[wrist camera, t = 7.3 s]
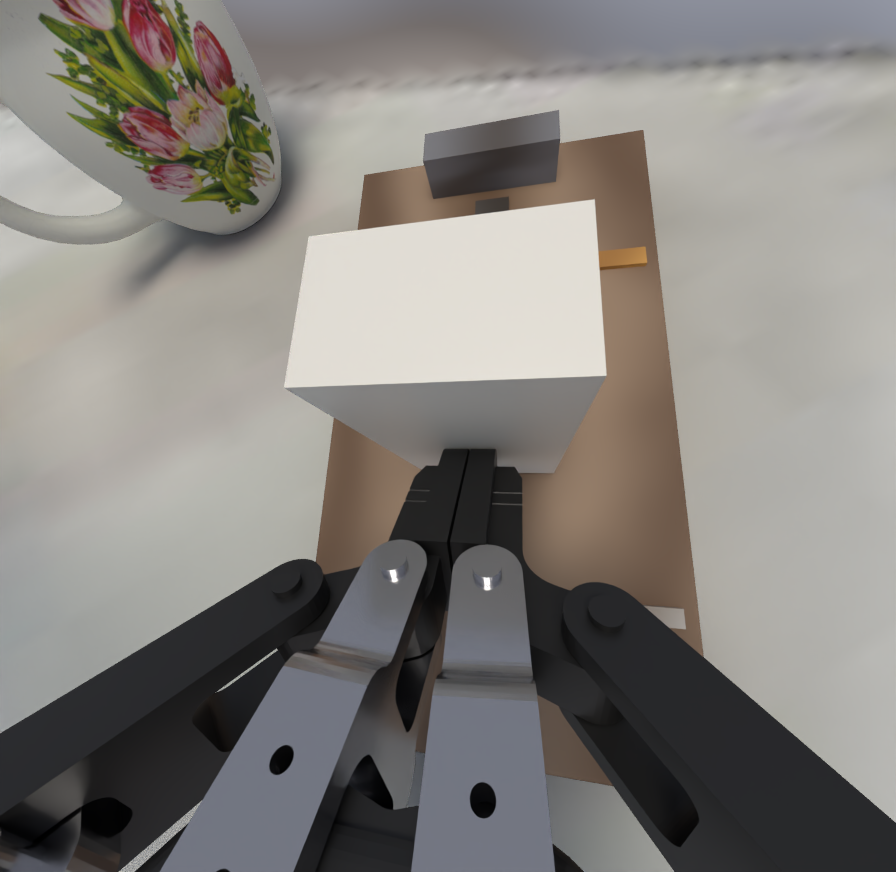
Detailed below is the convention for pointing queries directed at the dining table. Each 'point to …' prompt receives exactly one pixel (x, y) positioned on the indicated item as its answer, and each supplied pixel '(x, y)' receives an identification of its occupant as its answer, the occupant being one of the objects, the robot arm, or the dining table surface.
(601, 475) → the board
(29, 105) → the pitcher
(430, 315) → the slider tab
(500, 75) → the dining table surface
